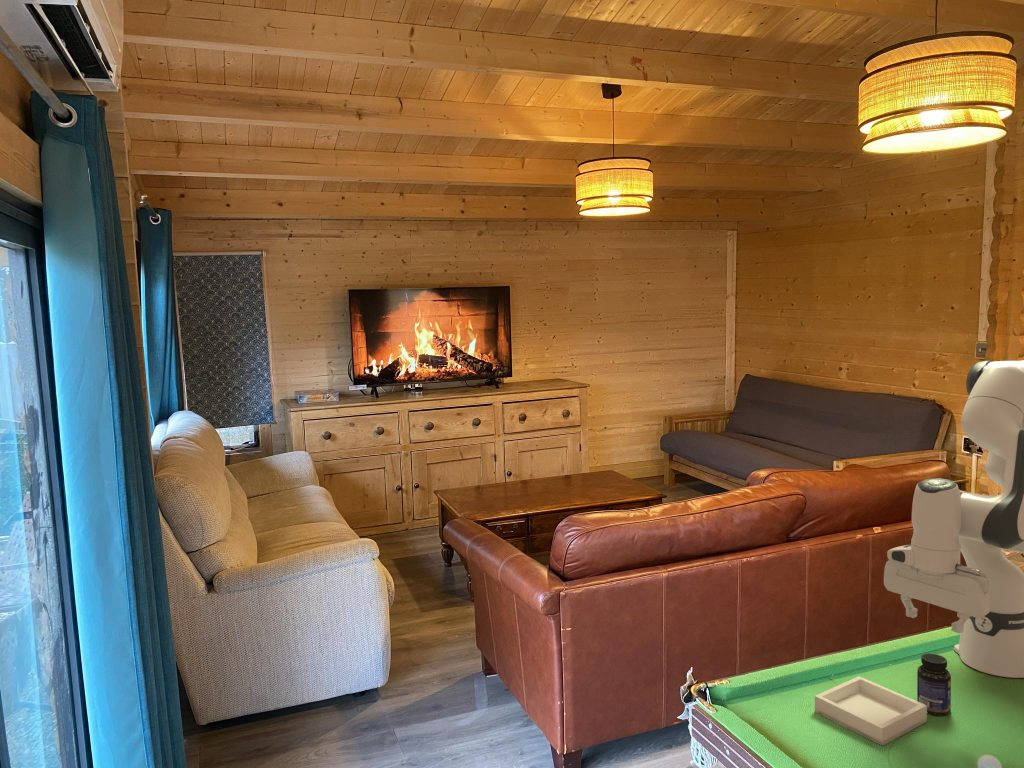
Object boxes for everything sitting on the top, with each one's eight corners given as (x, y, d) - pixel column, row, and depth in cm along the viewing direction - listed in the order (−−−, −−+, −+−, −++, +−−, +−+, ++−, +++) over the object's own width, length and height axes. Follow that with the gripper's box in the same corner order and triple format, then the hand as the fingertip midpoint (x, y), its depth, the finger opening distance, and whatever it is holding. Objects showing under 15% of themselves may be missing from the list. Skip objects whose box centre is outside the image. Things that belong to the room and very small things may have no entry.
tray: (859, 691, 162) (859, 676, 161) (926, 722, 149) (926, 705, 149) (814, 711, 154) (814, 695, 154) (882, 745, 141) (882, 728, 141)
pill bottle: (955, 717, 150) (956, 666, 149) (922, 715, 151) (923, 664, 150) (944, 702, 156) (944, 652, 155) (912, 700, 157) (913, 650, 156)
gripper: (997, 569, 144) (995, 637, 145) (897, 544, 161) (896, 605, 162) (980, 575, 140) (978, 645, 141) (879, 549, 158) (879, 611, 159)
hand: (933, 624), depth 152 cm, fingers open, 8 cm apart
